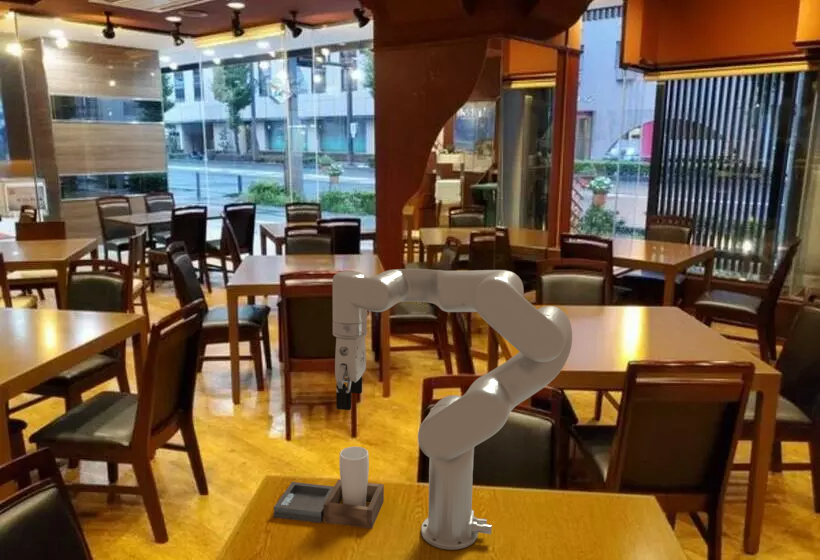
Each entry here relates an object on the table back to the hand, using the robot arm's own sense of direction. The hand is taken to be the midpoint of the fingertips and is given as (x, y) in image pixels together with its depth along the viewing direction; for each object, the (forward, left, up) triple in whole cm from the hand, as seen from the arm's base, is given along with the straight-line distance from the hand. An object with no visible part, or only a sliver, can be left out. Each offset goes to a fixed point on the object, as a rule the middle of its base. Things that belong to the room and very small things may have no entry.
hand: (349, 400), depth 139 cm
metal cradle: (+11, -1, -28) cm, 30 cm away
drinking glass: (-1, -1, -28) cm, 28 cm away
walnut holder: (-1, -1, -28) cm, 28 cm away
